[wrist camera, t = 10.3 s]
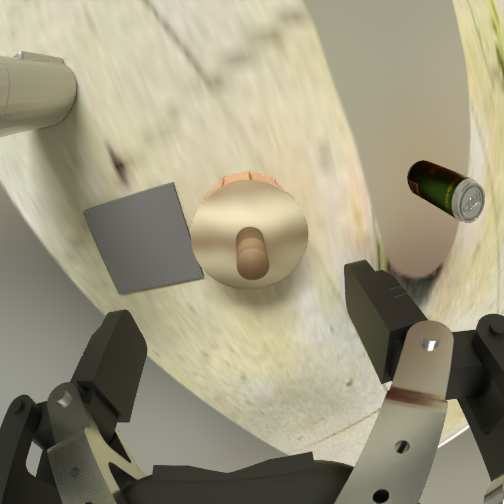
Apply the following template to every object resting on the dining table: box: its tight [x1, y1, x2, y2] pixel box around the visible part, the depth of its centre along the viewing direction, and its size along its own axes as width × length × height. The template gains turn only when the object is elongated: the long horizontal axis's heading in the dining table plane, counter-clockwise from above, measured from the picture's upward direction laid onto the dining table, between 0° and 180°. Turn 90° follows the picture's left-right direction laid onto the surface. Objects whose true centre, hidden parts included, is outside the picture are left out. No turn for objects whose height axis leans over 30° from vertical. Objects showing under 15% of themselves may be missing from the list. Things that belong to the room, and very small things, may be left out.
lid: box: [191, 180, 308, 289], centre depth 30 cm, size 13×13×7 cm
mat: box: [83, 182, 203, 294], centre depth 39 cm, size 14×14×1 cm
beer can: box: [407, 160, 485, 223], centre depth 31 cm, size 5×5×12 cm
